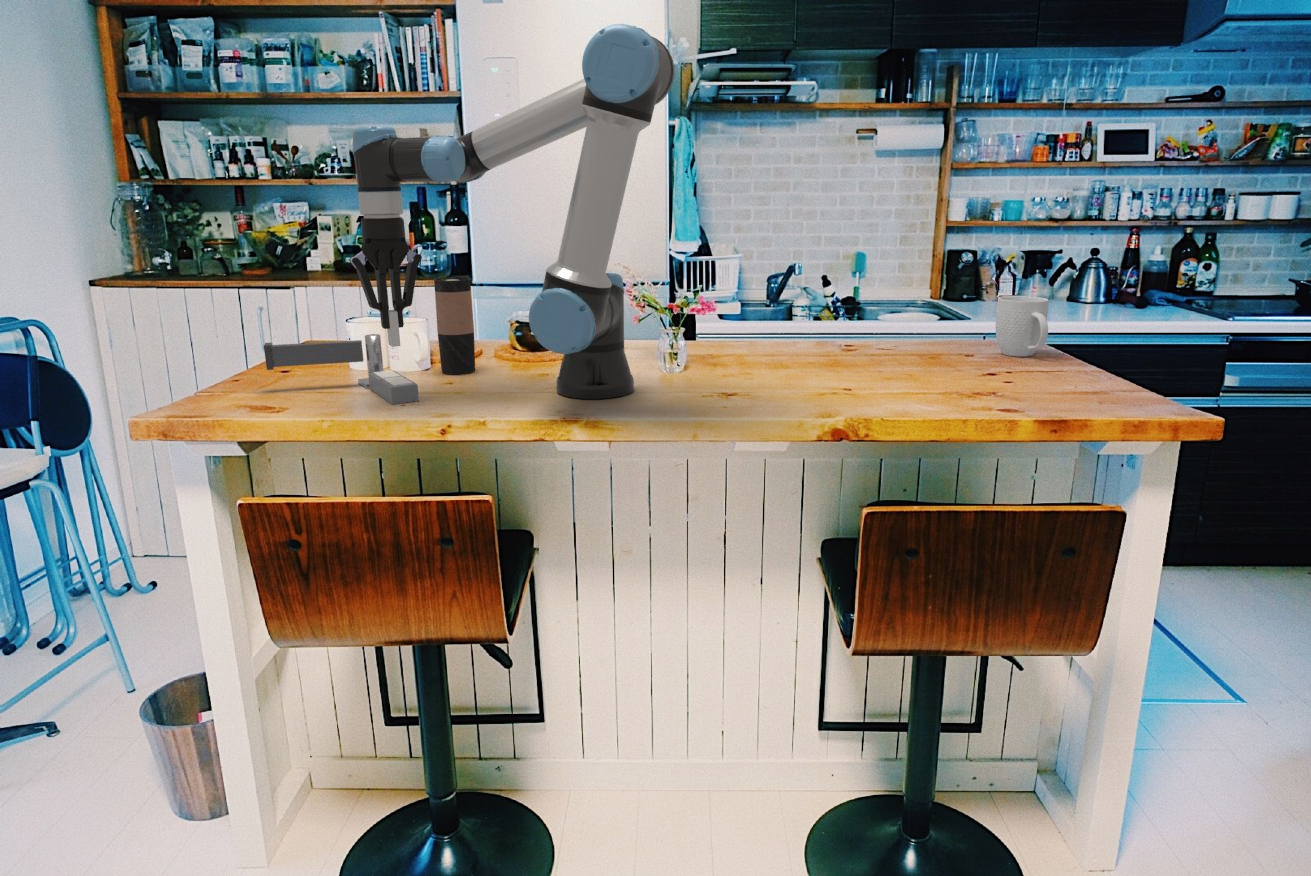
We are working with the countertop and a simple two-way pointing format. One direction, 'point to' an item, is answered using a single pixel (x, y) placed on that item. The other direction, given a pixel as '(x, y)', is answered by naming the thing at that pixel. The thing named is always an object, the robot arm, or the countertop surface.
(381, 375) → the label block
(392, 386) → the label block
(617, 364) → the robot arm
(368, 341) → the post
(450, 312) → the travel mug
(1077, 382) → the countertop surface
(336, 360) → the bar
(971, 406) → the countertop surface
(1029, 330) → the mug
